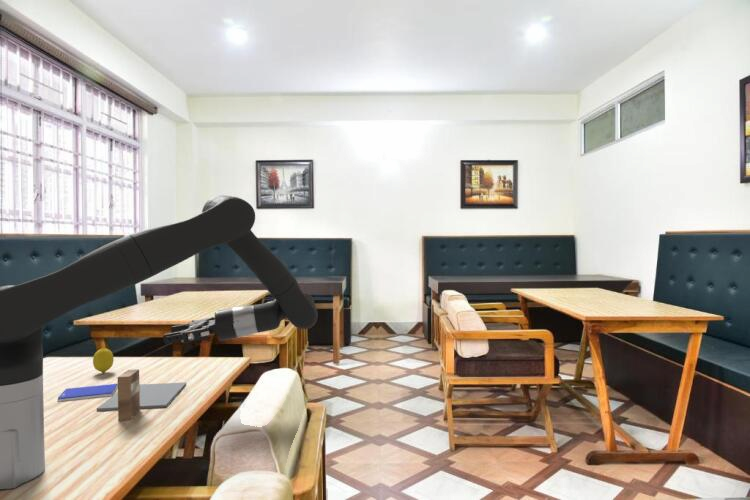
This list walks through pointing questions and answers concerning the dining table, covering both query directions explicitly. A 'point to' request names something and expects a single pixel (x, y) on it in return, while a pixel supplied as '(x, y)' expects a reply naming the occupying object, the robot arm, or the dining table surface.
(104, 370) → the lemon
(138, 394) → the brown cardboard box
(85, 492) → the dining table surface
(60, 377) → the dining table surface
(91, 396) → the hard drive
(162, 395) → the grey mat
